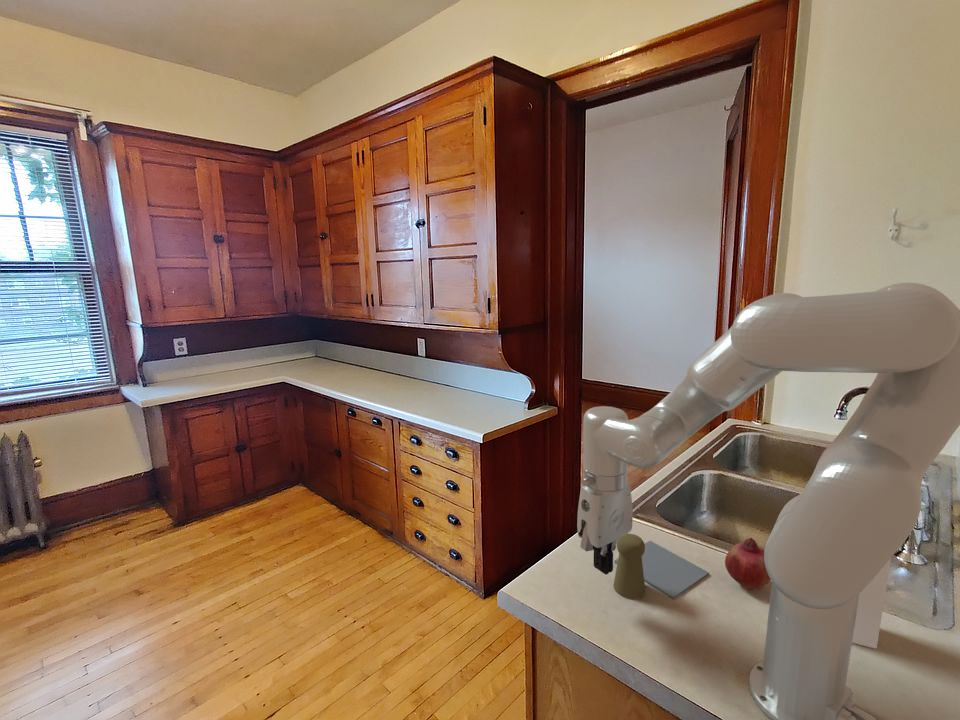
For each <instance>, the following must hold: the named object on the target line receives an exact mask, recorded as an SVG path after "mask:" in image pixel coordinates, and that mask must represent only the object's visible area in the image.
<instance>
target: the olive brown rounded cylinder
mask: <svg viewBox="0 0 960 720" xmlns="http://www.w3.org/2000/svg"><path fill="white" fill-rule="evenodd" d="M644 544H645V542H644V539H642V537H640V536H639V535H637V534H634V533H627V534H626V535H624V536H622V537H620V538H619V539H617V542H616V550H617V552H618V557H617V559H618V563H617V564H616V569H615V574H614V579H613V589H614V591H615V593H616V594H617V595H619V596H621V597H622V598H625V599H628V600H629V599H630V600H637V599H641V598H642V597H644V596H645V595H646V585H645V584H646V582H644V573H643V564H642V556H643V554H644V551H645V545H644Z"/></svg>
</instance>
